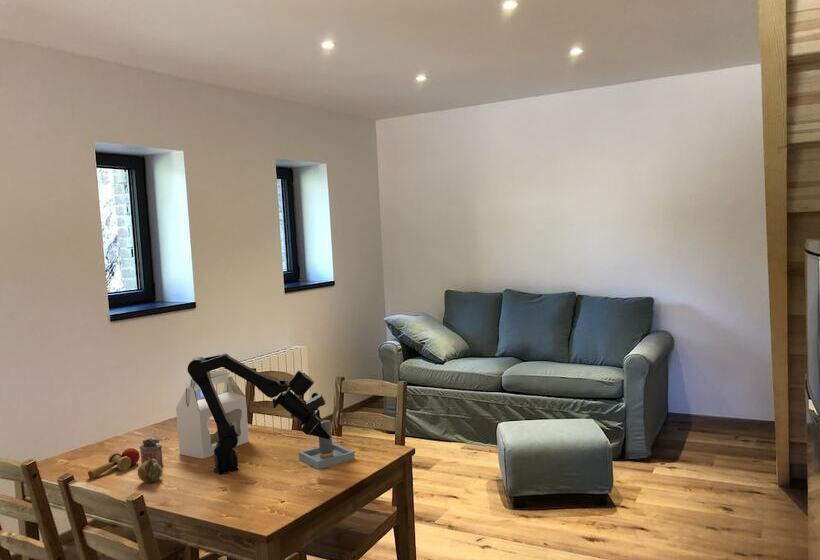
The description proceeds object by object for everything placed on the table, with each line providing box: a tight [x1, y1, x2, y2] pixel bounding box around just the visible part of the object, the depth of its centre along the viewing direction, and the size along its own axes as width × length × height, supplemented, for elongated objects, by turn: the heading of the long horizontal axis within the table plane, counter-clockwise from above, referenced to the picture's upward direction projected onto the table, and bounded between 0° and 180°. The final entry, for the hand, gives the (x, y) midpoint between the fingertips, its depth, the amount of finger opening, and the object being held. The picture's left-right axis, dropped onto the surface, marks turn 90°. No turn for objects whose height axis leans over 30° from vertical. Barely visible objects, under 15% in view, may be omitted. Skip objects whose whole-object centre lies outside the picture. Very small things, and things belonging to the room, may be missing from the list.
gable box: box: [175, 369, 250, 460], centre depth 249 cm, size 22×13×28 cm, turn 147°
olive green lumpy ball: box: [137, 458, 164, 484], centre depth 218 cm, size 8×8×8 cm
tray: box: [298, 442, 356, 470], centre depth 230 cm, size 14×14×2 cm
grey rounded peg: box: [318, 419, 333, 459], centre depth 230 cm, size 5×5×12 cm
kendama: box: [87, 447, 141, 480], centre depth 231 cm, size 8×6×18 cm
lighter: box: [139, 437, 164, 469], centre depth 232 cm, size 8×3×10 cm, turn 76°
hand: (329, 434), depth 230 cm, fingers open, 9 cm apart
